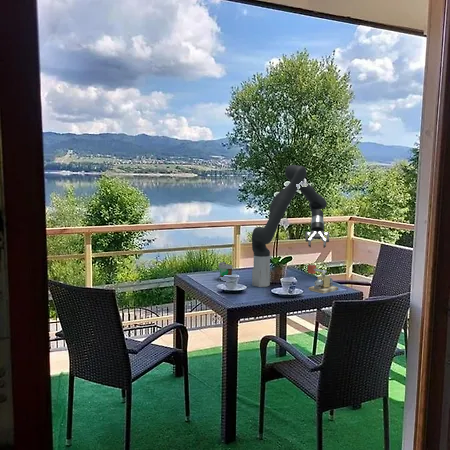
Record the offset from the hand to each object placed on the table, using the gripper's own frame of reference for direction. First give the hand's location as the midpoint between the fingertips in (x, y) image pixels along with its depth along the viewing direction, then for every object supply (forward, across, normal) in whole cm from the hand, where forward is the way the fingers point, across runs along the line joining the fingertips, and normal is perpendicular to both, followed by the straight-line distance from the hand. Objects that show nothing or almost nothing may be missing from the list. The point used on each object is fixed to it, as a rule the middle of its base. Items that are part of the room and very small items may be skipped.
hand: (317, 246), depth 277 cm
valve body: (+27, +4, +1) cm, 27 cm away
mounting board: (+28, +4, +2) cm, 28 cm away
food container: (+18, -54, +12) cm, 59 cm away
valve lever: (+20, 0, -2) cm, 20 cm away
